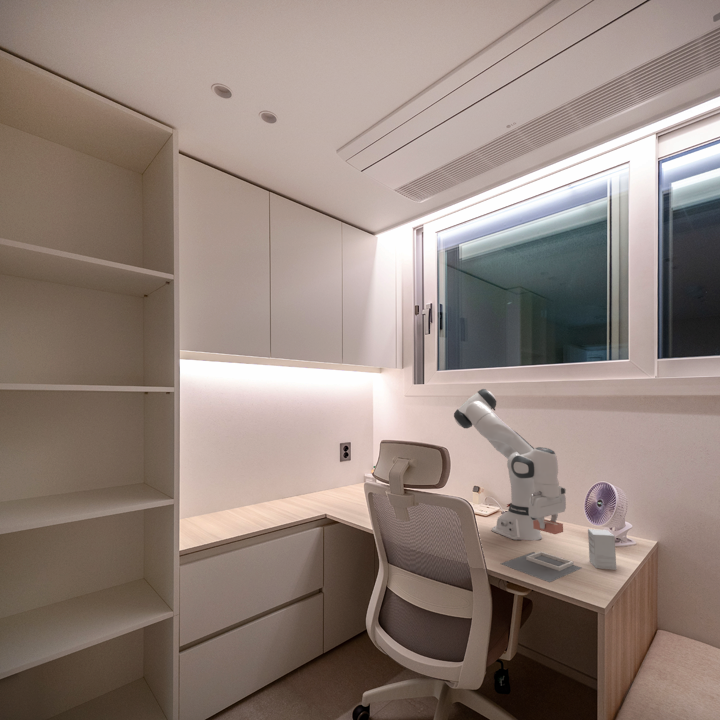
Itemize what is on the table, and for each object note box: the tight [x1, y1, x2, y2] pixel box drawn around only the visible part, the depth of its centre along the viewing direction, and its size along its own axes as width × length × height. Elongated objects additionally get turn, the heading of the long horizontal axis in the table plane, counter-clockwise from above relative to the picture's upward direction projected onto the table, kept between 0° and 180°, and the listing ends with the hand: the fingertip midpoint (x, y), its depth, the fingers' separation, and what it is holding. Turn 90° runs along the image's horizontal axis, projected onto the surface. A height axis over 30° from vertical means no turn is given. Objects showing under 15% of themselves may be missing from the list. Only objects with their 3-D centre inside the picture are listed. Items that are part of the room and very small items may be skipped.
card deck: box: [533, 518, 564, 535], centre depth 163 cm, size 9×6×3 cm, turn 35°
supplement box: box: [587, 528, 617, 571], centre depth 160 cm, size 7×7×13 cm
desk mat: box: [500, 551, 582, 583], centre depth 159 cm, size 20×22×1 cm
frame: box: [526, 551, 574, 571], centre depth 162 cm, size 13×10×1 cm
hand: (548, 526), depth 163 cm, fingers closed on card deck, 5 cm apart
